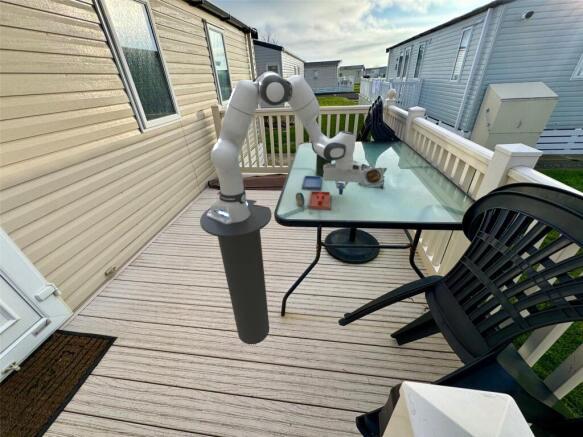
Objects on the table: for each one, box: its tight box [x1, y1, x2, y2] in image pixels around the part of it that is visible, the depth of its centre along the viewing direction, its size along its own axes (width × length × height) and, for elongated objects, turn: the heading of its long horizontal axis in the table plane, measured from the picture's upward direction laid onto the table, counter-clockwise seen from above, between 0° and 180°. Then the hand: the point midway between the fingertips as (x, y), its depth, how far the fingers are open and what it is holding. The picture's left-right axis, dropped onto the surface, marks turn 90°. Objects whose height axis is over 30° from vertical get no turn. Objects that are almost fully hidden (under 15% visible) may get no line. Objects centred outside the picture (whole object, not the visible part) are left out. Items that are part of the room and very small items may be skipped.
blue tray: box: [301, 175, 322, 191], centre depth 159 cm, size 18×11×2 cm, turn 172°
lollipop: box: [295, 191, 312, 214], centre depth 131 cm, size 7×1×15 cm
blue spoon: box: [335, 182, 345, 196], centre depth 136 cm, size 13×4×3 cm, turn 172°
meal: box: [358, 163, 388, 189], centre depth 152 cm, size 15×4×13 cm, turn 68°
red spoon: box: [317, 193, 324, 206], centre depth 137 cm, size 13×4×3 cm, turn 172°
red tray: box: [308, 190, 331, 211], centre depth 138 cm, size 18×11×2 cm, turn 172°
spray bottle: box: [315, 154, 332, 177], centre depth 167 cm, size 10×10×25 cm
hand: (340, 188), depth 134 cm, fingers closed on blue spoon, 2 cm apart
